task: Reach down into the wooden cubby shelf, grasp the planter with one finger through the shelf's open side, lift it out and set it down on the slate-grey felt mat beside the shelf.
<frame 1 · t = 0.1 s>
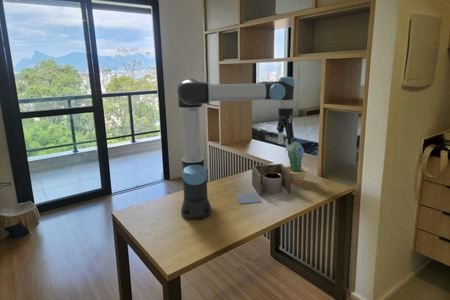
hand: (284, 147, 169), 28 cm above the table, fingers open, 13 cm apart
wooden cubby shelf: (270, 188, 186), on the table
mat: (248, 198, 172), on the table
potted cactus: (294, 181, 196), on the table
planter: (272, 191, 182), on the table
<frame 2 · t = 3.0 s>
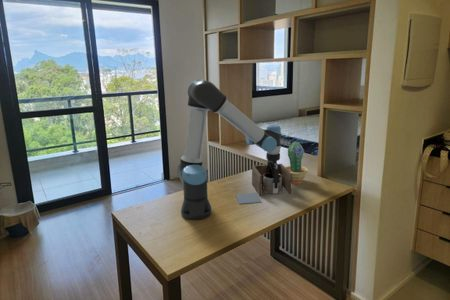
hand: (272, 189, 182), 1 cm above the table, fingers closed on planter, 11 cm apart
planter: (272, 191, 182), on the table, touching gripper
everything else where it was.
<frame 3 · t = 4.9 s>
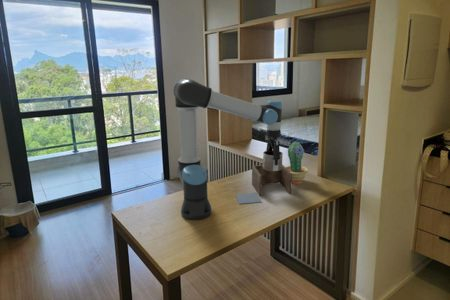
hand: (272, 167, 178), 14 cm above the table, fingers closed on planter, 11 cm apart
planter: (272, 169, 178), point 13 cm above the table, touching gripper
everything else where it was.
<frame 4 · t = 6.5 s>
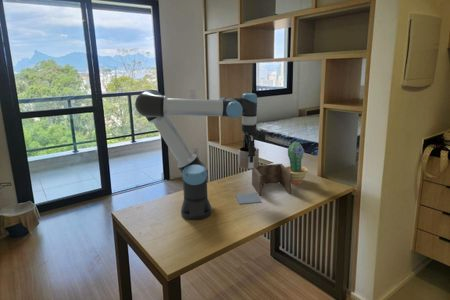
hand: (248, 164, 167), 19 cm above the table, fingers closed on planter, 11 cm apart
planter: (248, 166, 168), point 18 cm above the table, touching gripper
everything else where it was.
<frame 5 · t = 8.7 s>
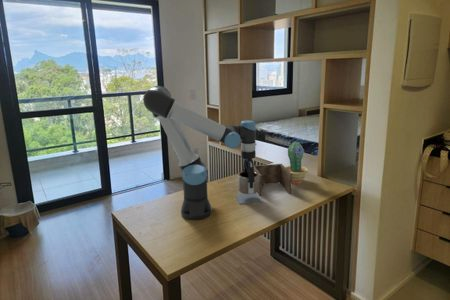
hand: (248, 189, 171), 6 cm above the table, fingers closed on planter, 11 cm apart
planter: (248, 191, 171), point 4 cm above the table, touching gripper
everything else where it was.
when the fingers open (2 cm above the table, at t = 10.3 s): planter stays where it is, resting on mat.
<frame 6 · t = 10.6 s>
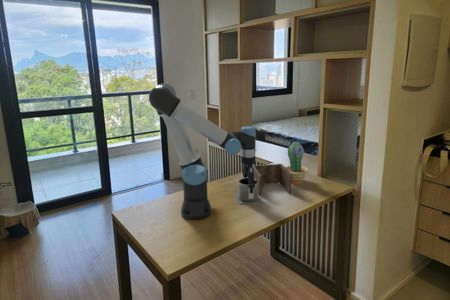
hand: (248, 193, 171), 3 cm above the table, fingers open, 13 cm apart
planter: (248, 198, 172), resting on mat
everything else where it was.
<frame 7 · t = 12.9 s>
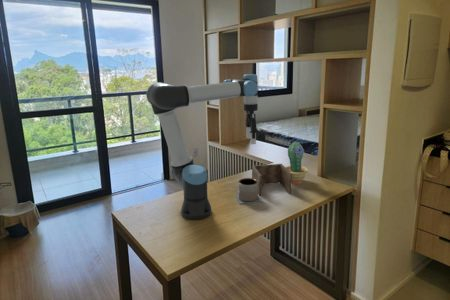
hand: (250, 141, 177), 29 cm above the table, fingers open, 13 cm apart
nothing on the table moved.
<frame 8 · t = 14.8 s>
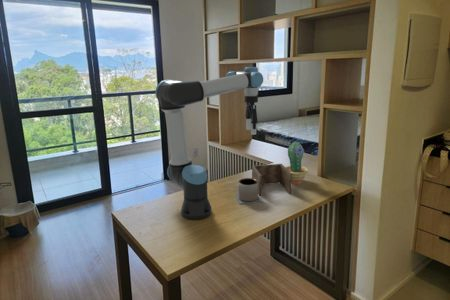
hand: (251, 132, 183), 33 cm above the table, fingers open, 13 cm apart
nothing on the table moved.
at the end: planter inside the target area on the mat (0.1 cm from its centre), point 0.2 cm above the mat's base; planter tilted 0°; the gripper is holding nothing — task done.
